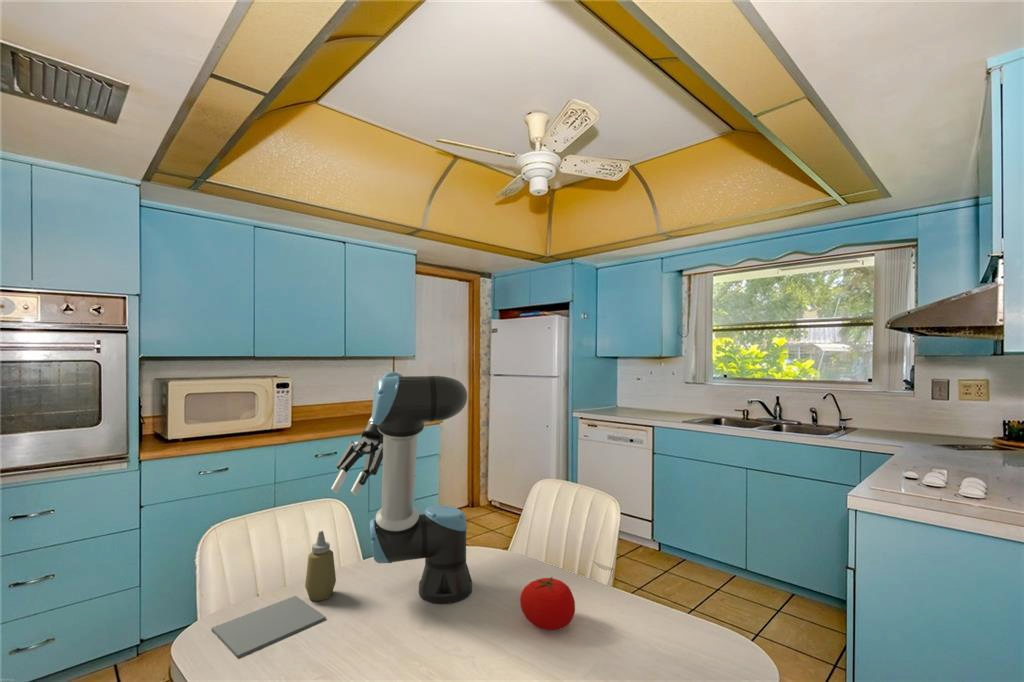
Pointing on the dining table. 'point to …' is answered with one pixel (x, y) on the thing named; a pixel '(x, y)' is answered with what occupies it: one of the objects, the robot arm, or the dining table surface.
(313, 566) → the squeeze bottle
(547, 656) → the dining table surface
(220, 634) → the rubber mat
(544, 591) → the tomato
